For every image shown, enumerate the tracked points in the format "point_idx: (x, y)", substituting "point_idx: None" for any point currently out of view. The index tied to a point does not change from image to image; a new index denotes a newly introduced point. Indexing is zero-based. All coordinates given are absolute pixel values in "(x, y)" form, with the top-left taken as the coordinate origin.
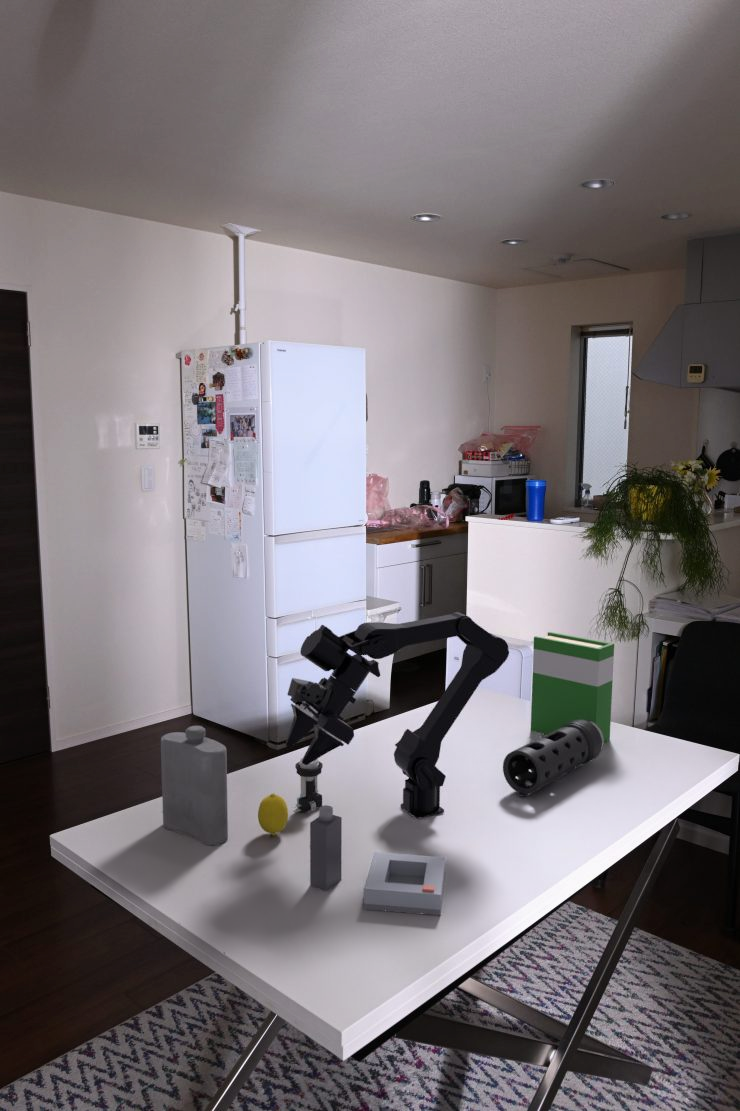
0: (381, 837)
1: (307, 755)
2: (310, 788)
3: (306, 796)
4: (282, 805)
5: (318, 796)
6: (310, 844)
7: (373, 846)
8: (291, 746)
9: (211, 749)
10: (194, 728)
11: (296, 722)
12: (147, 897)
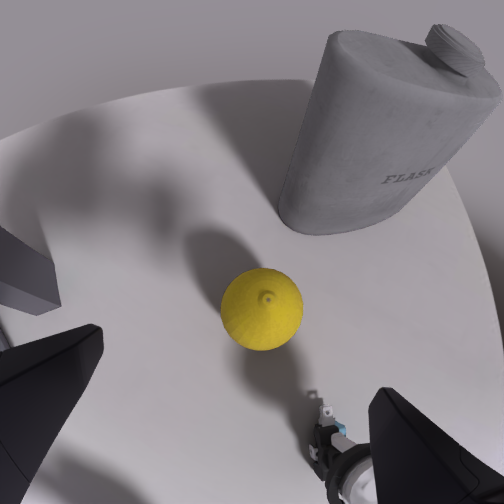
0: (115, 481)
1: (50, 338)
2: (331, 460)
3: (331, 445)
4: (230, 317)
5: (321, 472)
6: (10, 234)
7: (92, 445)
8: (369, 417)
9: (363, 43)
10: (460, 37)
11: (455, 489)
12: (195, 86)
